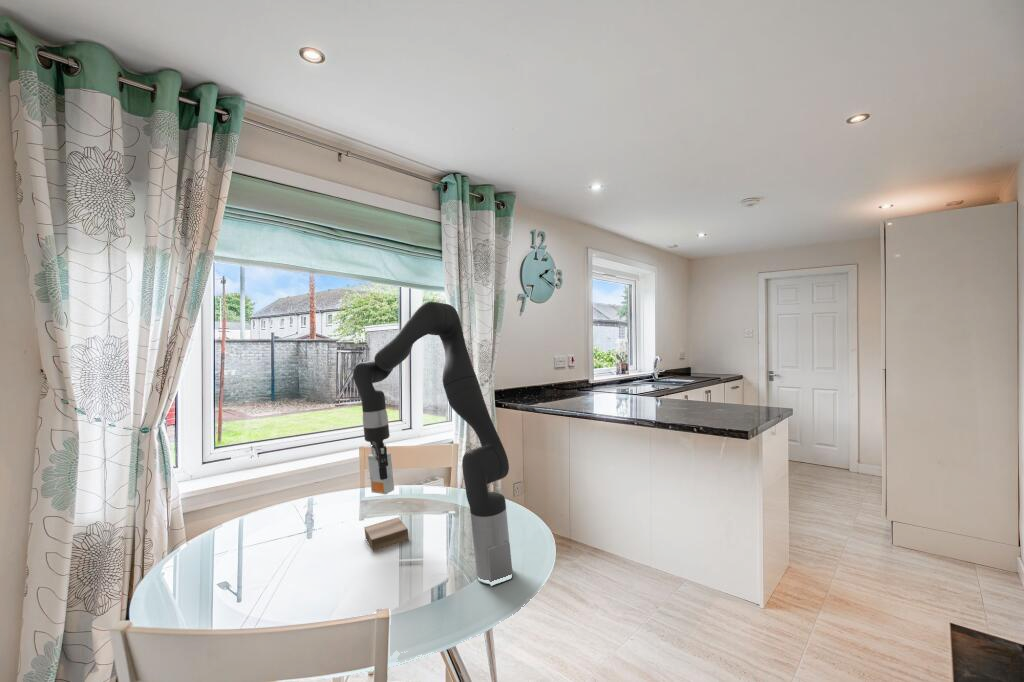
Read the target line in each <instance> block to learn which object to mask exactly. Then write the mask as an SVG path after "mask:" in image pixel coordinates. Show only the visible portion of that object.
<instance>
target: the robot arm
mask: <svg viewBox="0 0 1024 682" xmlns="http://www.w3.org/2000/svg"><path fill="white" fill-rule="evenodd" d="M428 335H431V336H439V338H440V340H441V343H442V345H443V346H442V347H443V349H444V353H445V354H444V355H445V356H444V357H445V358H444V359H445V360H444V365H443V371H442V386H443V389H444V391H445V395H446V398H447V400H448V401H447V402H448V404H449V405H450V408H452V410H453V412H455V413H456V414H457V415H458V416H459V417H460V418H462V420H464V422H466V424H468V425H469V426H470V427H471V429H473V431H474V432H475V434H476V436H477V438H478V441H479V442H480V446H479V447H477V448H473V449H470V450H467V451H466V452H465V453H464V455H463V456H462V460H461V462H462V464H461V465H462V466H461V468H462V474H463V475H462V476H463V480H464V481H463V482H464V487H465V495H466V499H467V502H468V506H469V512H470V513H469V514H470V523H471V534H472V541H473V553H474V563H475V572H476V573H475V574H476V577H477V576H478V577H479V578H480V579H483V580H489V581H490V582H492V581H494V580H497V579H500V578H503V577H506V576H508V575H511V574H513V575H514V573H513V564H512V562H513V561H512V555H511V554H512V553H511V552H512V551H511V544H510V533H509V524H508V514H507V512H508V511H507V504H506V497H505V496H504V495H503V494H502V493H498V492H494V491H489V490H488V484H491V483H493V482H497V481H500V480H502V479H504V478H506V477H507V476H508V474H509V471H510V470H509V469H510V465H509V459H508V455H507V452H506V450H505V447H504V445H503V443H502V440H501V438H500V437H499V434H498V432H497V429H496V427H495V425H494V423H493V420H492V418H491V415H490V413H489V409H488V407H487V405H486V402H485V399H484V395H483V392H482V388H481V386H480V383H479V379H478V377H477V374H476V372H475V370H474V367H473V363H472V360H471V356H470V354H469V351H468V348H467V343H466V341H465V337H464V332H463V328H462V323H461V320H460V316H459V313H458V311H457V310H456V308H455V307H454V306H453V305H451V304H448V303H443V302H437V301H426V302H424V303H422V304H421V305H420V306H419V307H417V309H416V310H415V311H414V313H413V314H412V315H411V317H410V318H409V319H408V320H407V322H406V323H405V324H404V325H403V326H402V328H401V329H400V330H399V332H397V334H395V336H394V337H392V339H390V340H389V341H388V342H387V343H386V344H384V346H382V347H381V348H380V349H379V350H378V351H377V352H376V353H375V354H374V357H373V360H368V361H360V362H357V363H356V365H355V366H354V368H353V371H352V372H353V373H352V376H353V377H352V378H353V381H354V383H355V386H356V389H357V391H358V394H359V397H360V400H361V407H362V408H361V409H362V424H363V434H364V435H363V436H364V441H365V442H368V443H370V450H371V454H374V456H375V461H377V462H378V467H379V476H380V479H381V480H384V479H387V468H386V467H387V466H388V460H387V453H388V451H387V446H386V444H385V443H384V441H385V440H387V439H389V438H390V436H391V435H390V429H389V416H388V412H387V407H386V396H385V393H384V391H383V390H379V389H378V390H377V389H375V387H374V385H373V384H375V383H380V382H382V381H383V380H385V379H387V378H388V377H389V376H390V374H392V372H393V370H394V368H396V367H397V366H399V365H401V363H403V361H405V360H406V359H407V358H408V356H409V355H410V354H411V352H412V349H413V345H414V344H415V343H416V342H417V341H418V340H419V339H421V338H423V337H425V336H428ZM382 459H383V460H384V463H381V460H382Z"/></svg>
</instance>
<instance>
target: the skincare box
mask: <svg viewBox="0 0 1024 682" xmlns="http://www.w3.org/2000/svg"><path fill="white" fill-rule="evenodd" d="M367 460H368V471H369V479H370V490H371V493H372V494H373V493H375V494H380V495H381V494H382V495H387V494H389V493H392V492H393V491H395V483H394V482H395V481H394V474H393V462H392V453H390V452H387V460H388V466H387V467H386V468H387V479H384V480H381V479H380V476H379V467H378V462H377V461H375V456H374V454H372V453H370V454H369V455H367ZM381 463H384V460H383V459H382V460H381Z"/></svg>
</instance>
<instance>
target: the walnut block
mask: <svg viewBox="0 0 1024 682" xmlns="http://www.w3.org/2000/svg"><path fill="white" fill-rule="evenodd" d="M364 535H365V540H366V539H367V540H366V541H368V542H367V544H368V543H369V544H368V545H369V547H370V548H371V551H372V552H376V551H379V550H382V549H385V548H389V547H392V546H395V545H399V544H401V543H404V542H407V541H409V540H410V537H409V531H408V527H407V526H406V525H405V523H404V522H403V521H402V519H400V518H399V517H394V518H392V519H388V520H385V521H381V522H378V523H377V522H376V523H374V524H371V525H367V526H364Z"/></svg>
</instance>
